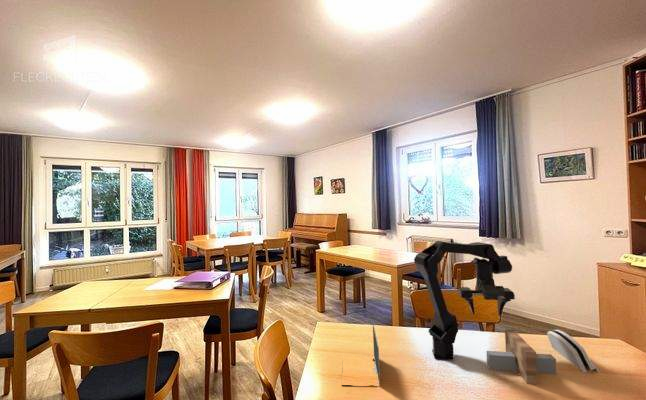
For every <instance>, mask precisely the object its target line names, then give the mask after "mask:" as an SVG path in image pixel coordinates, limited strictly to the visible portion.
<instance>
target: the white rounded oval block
mask: <svg viewBox="0 0 646 400" xmlns="http://www.w3.org/2000/svg"><path fill="white" fill-rule="evenodd" d="M546 335H547V338H548V340H549V342H550V346H551V348H552V349H553V350H554V351H556V352H557V353H558V354H559V355H561V357H563V358H564V359H566V360H567V362H569V363H571V364H572V365H574V366H575V367H576V368H577V369H578V370H580V371H581V372H583V373H586V372H587V373H588V370H589V371H593V370H594V371H596V372H597V373H600V370H599V368H598V367H597V366H596V365H595V364H594V363H592V362H591V360H590V357H589V356H588V353H587V352H586V350H585V348H584V347H583V346H582V345H581V344H580V343H579V342H578V341H577V340H576V339H575V338H573V337H572V336H570V335H569V334H568V333H566V332H564V331H562V330H561V329H552V330H551V331H550V330H549V331H548V332H546Z"/></svg>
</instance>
